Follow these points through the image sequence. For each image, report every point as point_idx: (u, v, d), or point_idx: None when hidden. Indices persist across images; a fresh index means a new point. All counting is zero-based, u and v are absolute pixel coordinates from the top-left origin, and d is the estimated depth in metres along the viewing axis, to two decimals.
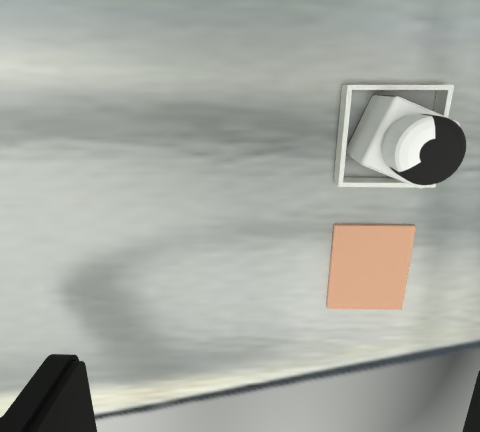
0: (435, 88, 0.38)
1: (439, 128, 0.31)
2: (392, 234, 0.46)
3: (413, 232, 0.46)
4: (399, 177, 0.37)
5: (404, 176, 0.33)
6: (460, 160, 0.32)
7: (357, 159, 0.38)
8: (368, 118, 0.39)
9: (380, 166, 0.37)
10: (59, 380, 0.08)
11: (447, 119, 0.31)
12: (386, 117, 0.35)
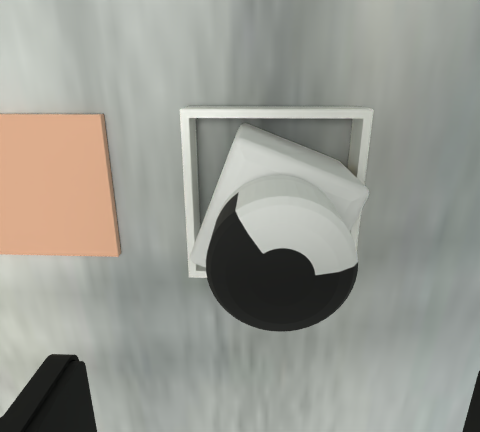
0: None
1: (335, 281, 0.14)
2: (97, 221, 0.26)
3: (107, 254, 0.27)
4: (211, 217, 0.18)
5: (225, 223, 0.14)
6: (263, 327, 0.15)
7: (241, 134, 0.19)
8: (310, 153, 0.21)
9: (231, 178, 0.18)
10: (59, 380, 0.08)
11: (349, 291, 0.15)
12: (331, 178, 0.17)
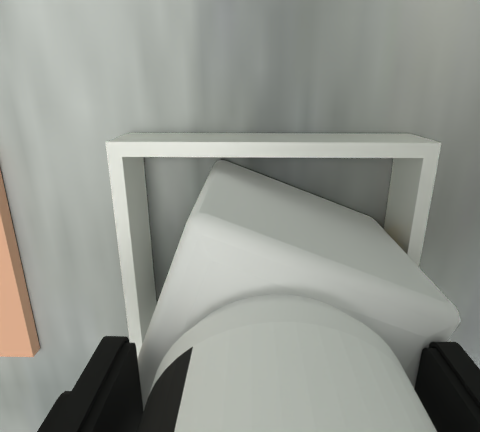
0: None
1: None
2: None
3: (16, 353, 0.18)
4: (148, 360, 0.09)
5: None
6: None
7: (208, 196, 0.10)
8: (331, 216, 0.13)
9: (185, 293, 0.09)
10: (117, 358, 0.08)
11: None
12: (386, 292, 0.09)
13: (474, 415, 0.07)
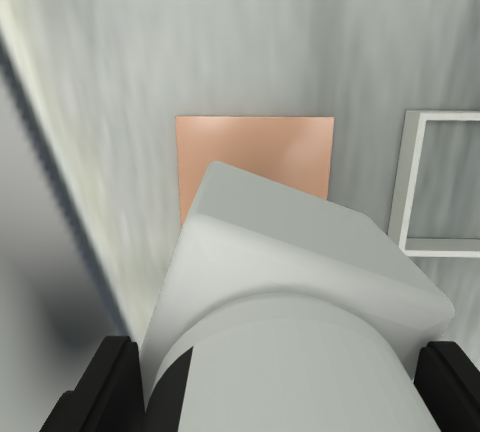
0: None
1: None
2: None
3: None
4: (148, 362, 0.09)
5: None
6: None
7: (204, 197, 0.10)
8: (325, 214, 0.13)
9: (184, 294, 0.09)
10: (119, 358, 0.08)
11: None
12: (382, 287, 0.09)
13: (471, 414, 0.07)
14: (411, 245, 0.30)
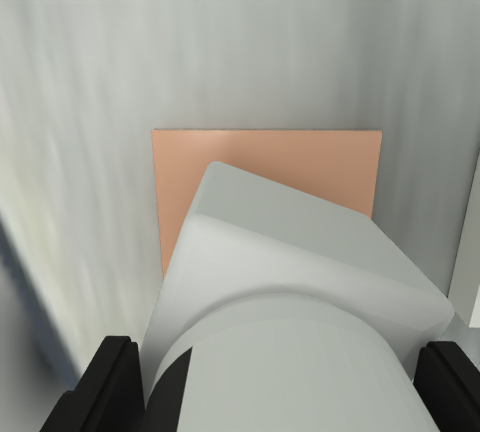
0: None
1: None
2: None
3: None
4: (147, 362, 0.09)
5: None
6: None
7: (204, 197, 0.10)
8: (325, 214, 0.13)
9: (183, 294, 0.09)
10: (119, 358, 0.08)
11: None
12: (382, 288, 0.09)
13: (471, 414, 0.07)
14: None
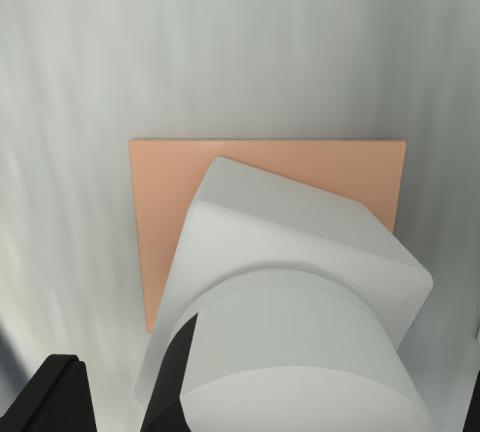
0: None
1: None
2: None
3: None
4: (161, 334, 0.11)
5: (159, 425, 0.06)
6: None
7: (206, 187, 0.11)
8: (320, 202, 0.14)
9: (190, 271, 0.10)
10: (59, 380, 0.08)
11: None
12: (366, 261, 0.10)
13: None
14: None
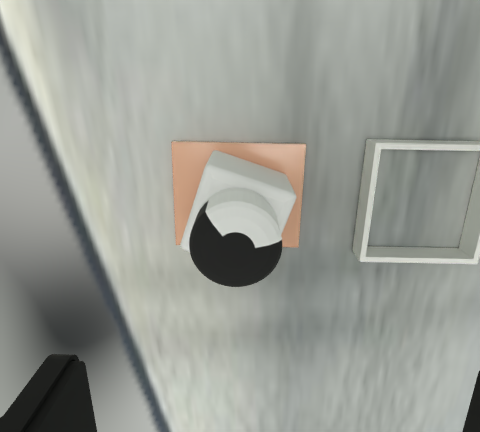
0: (478, 245, 0.34)
1: (267, 251, 0.23)
2: (288, 221, 0.35)
3: (290, 245, 0.36)
4: (192, 217, 0.27)
5: (199, 219, 0.23)
6: (227, 283, 0.24)
7: (211, 161, 0.28)
8: (261, 170, 0.31)
9: (205, 191, 0.27)
10: (59, 380, 0.08)
11: (278, 258, 0.24)
12: (269, 188, 0.27)
13: None
14: (372, 252, 0.35)
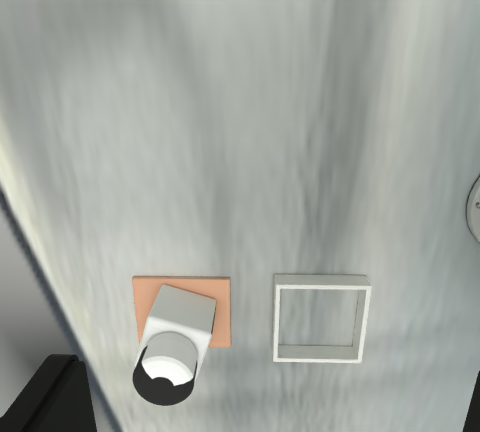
0: (359, 350, 0.45)
1: (182, 387, 0.35)
2: (221, 329, 0.47)
3: (224, 346, 0.48)
4: (141, 348, 0.40)
5: (138, 366, 0.35)
6: (158, 404, 0.36)
7: (153, 308, 0.40)
8: (193, 305, 0.43)
9: (148, 333, 0.39)
10: (59, 380, 0.08)
11: (191, 389, 0.36)
12: (192, 330, 0.39)
13: None
14: (284, 353, 0.47)
